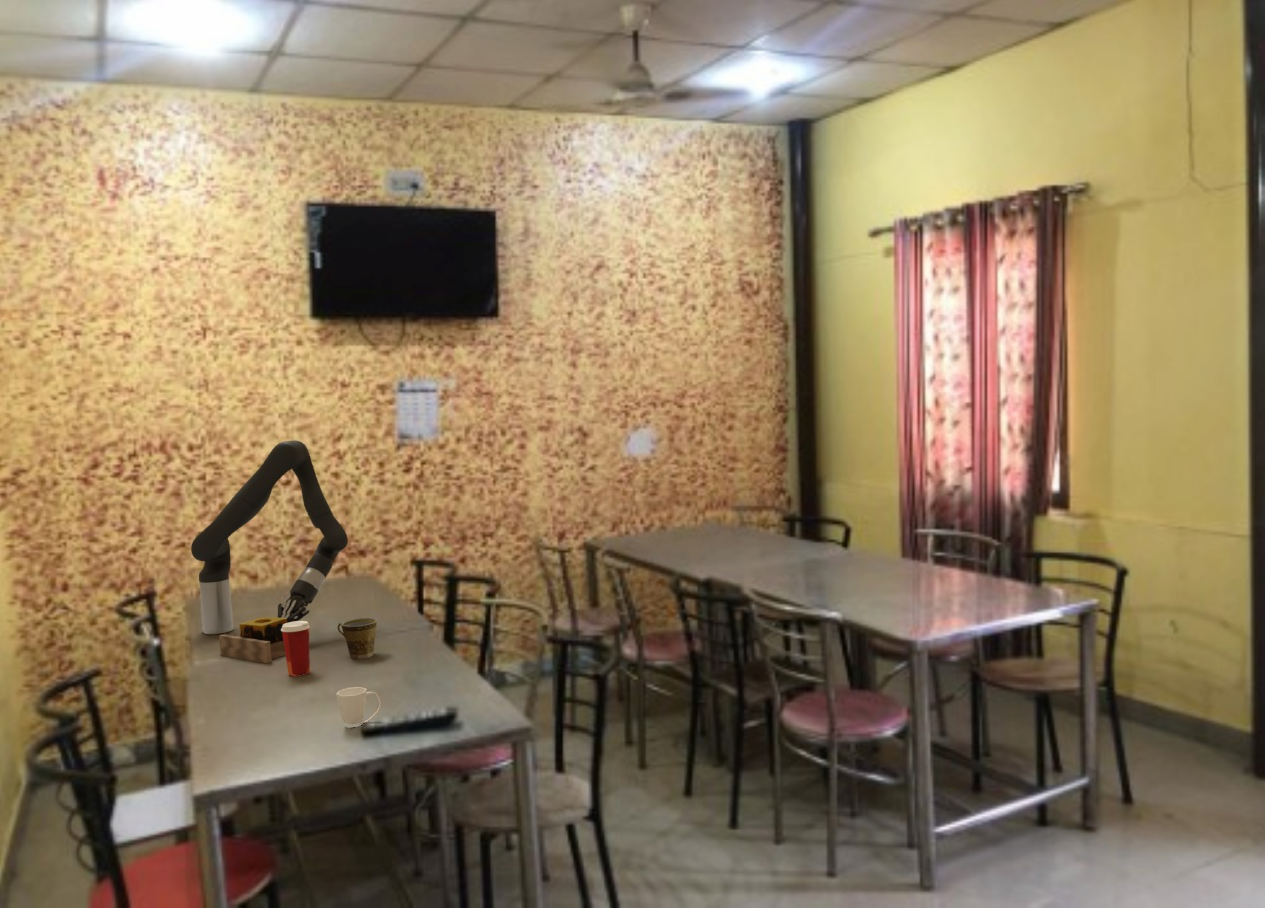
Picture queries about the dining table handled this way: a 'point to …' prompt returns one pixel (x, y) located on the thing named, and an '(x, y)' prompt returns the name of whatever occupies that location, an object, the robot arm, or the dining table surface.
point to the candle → (263, 629)
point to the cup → (354, 704)
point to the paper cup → (297, 647)
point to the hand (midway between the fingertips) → (278, 633)
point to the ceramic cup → (359, 636)
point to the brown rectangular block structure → (250, 648)
